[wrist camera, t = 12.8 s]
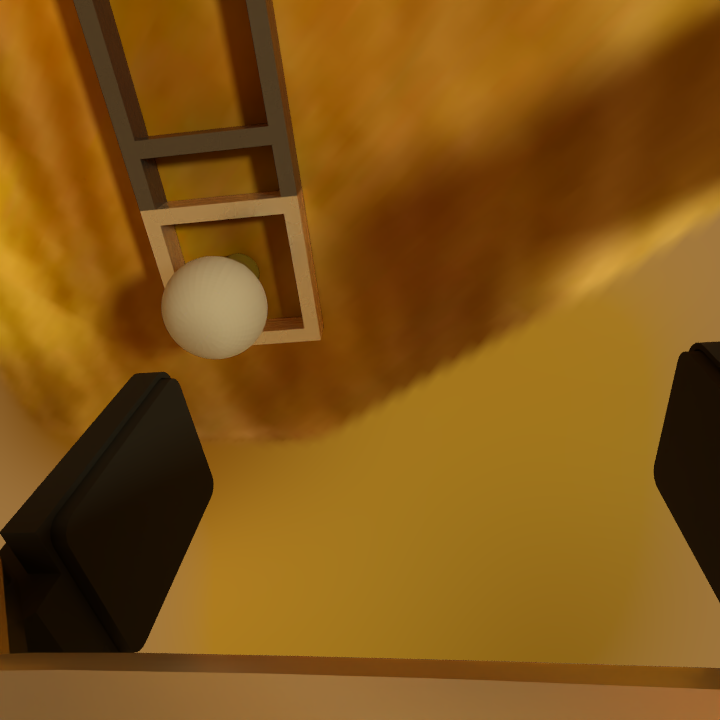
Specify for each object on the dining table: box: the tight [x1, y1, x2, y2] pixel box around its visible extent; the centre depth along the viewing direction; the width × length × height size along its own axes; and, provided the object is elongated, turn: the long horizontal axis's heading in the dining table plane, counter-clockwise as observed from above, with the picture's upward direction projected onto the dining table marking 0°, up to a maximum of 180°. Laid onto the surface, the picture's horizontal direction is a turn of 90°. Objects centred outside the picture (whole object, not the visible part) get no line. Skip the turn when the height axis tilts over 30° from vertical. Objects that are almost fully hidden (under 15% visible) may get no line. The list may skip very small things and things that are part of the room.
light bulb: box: [161, 254, 268, 359], centre depth 32 cm, size 6×6×10 cm
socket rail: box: [73, 0, 324, 350], centre depth 32 cm, size 10×23×2 cm, turn 6°
